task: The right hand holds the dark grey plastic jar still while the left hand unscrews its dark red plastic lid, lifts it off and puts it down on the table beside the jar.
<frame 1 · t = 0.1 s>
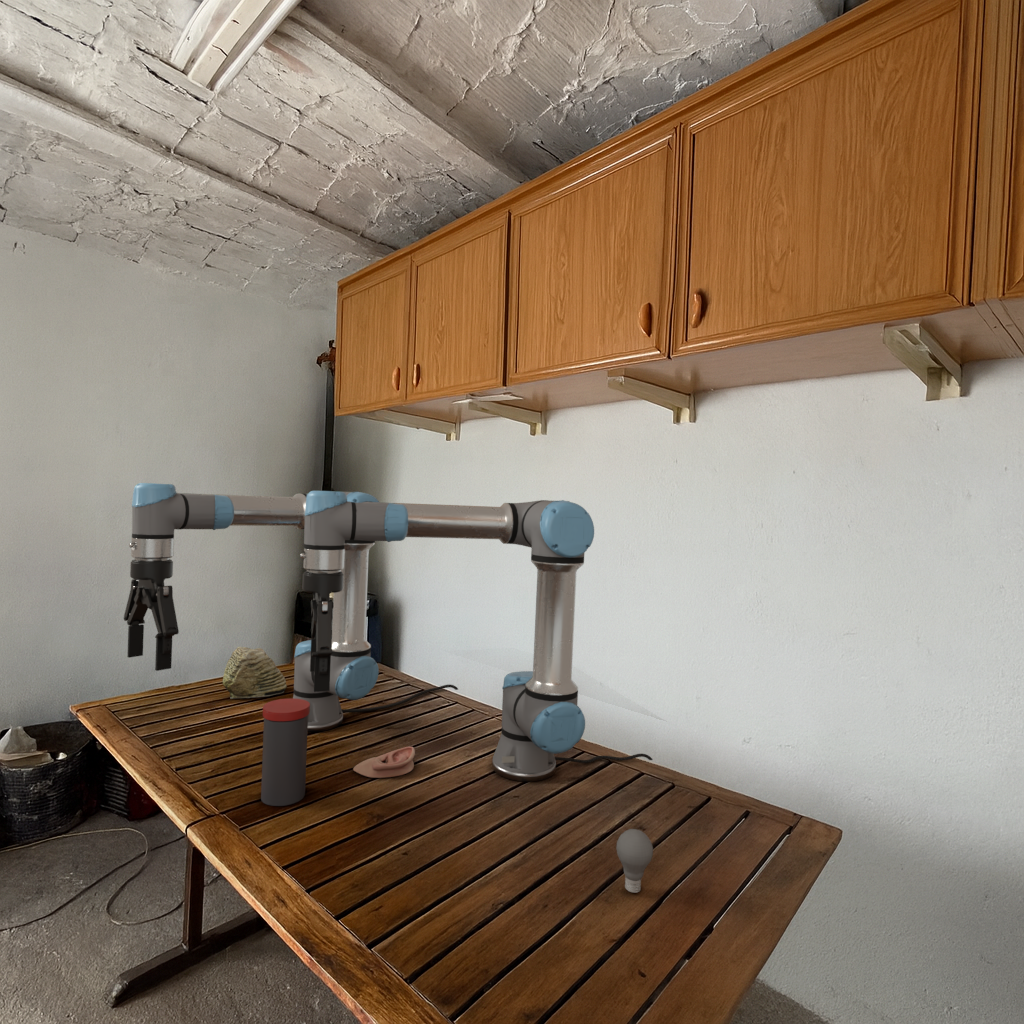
left hand: (148, 662, 129), 28 cm above the table, tool pointing down, fingers open, 13 cm apart
right hand: (319, 680, 122), 28 cm above the table, tool pointing down, fingers open, 13 cm apart
jar: (283, 796, 133), on the table
anatomical model: (384, 768, 149), on the table
lid: (286, 707, 133), point 19 cm above the table, screwed on, not yet turned
fossil: (254, 694, 198), on the table
light bulb: (632, 891, 106), on the table
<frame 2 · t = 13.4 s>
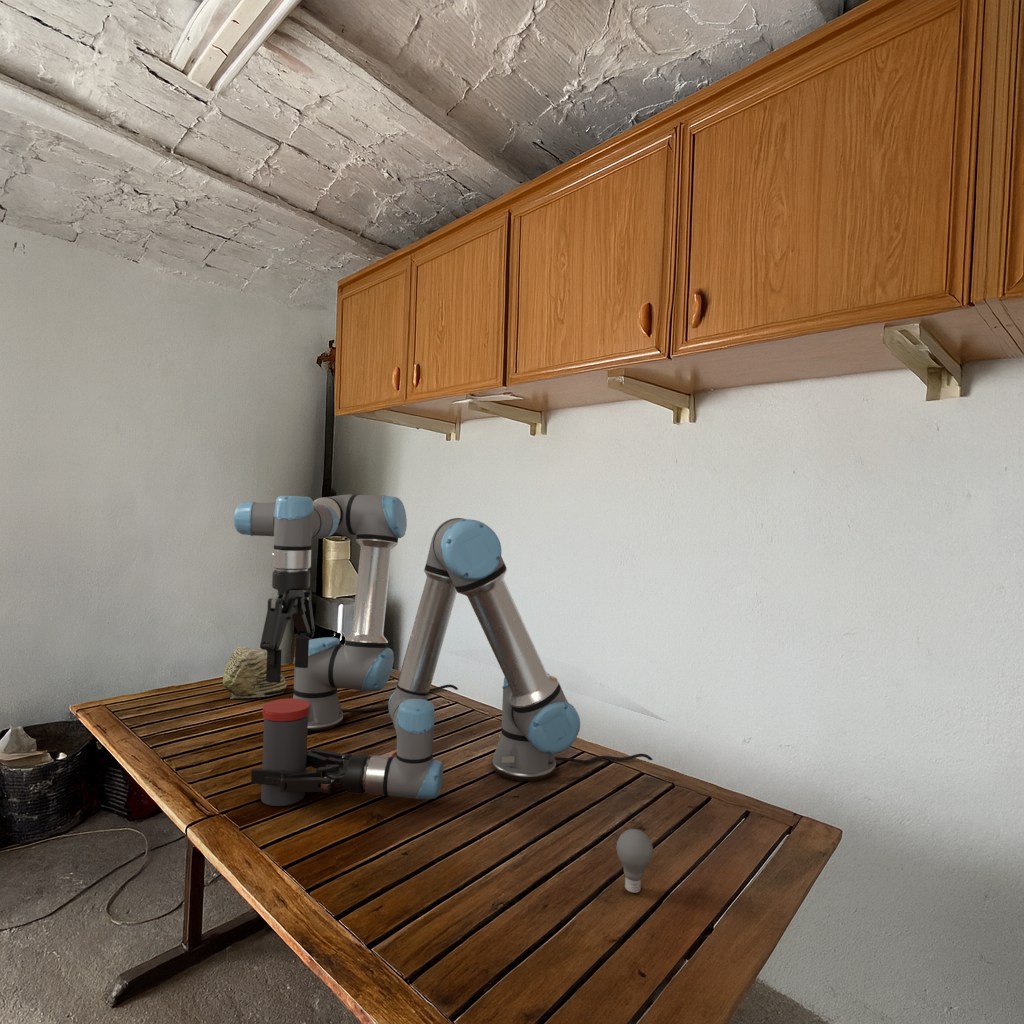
left hand: (287, 674, 133), 26 cm above the table, tool pointing down, fingers open, 11 cm apart
right hand: (263, 766, 134), 6 cm above the table, tool horizontal, fingers closed on jar, 9 cm apart
jar: (283, 796, 133), on the table, touching right hand
everything else where it was.
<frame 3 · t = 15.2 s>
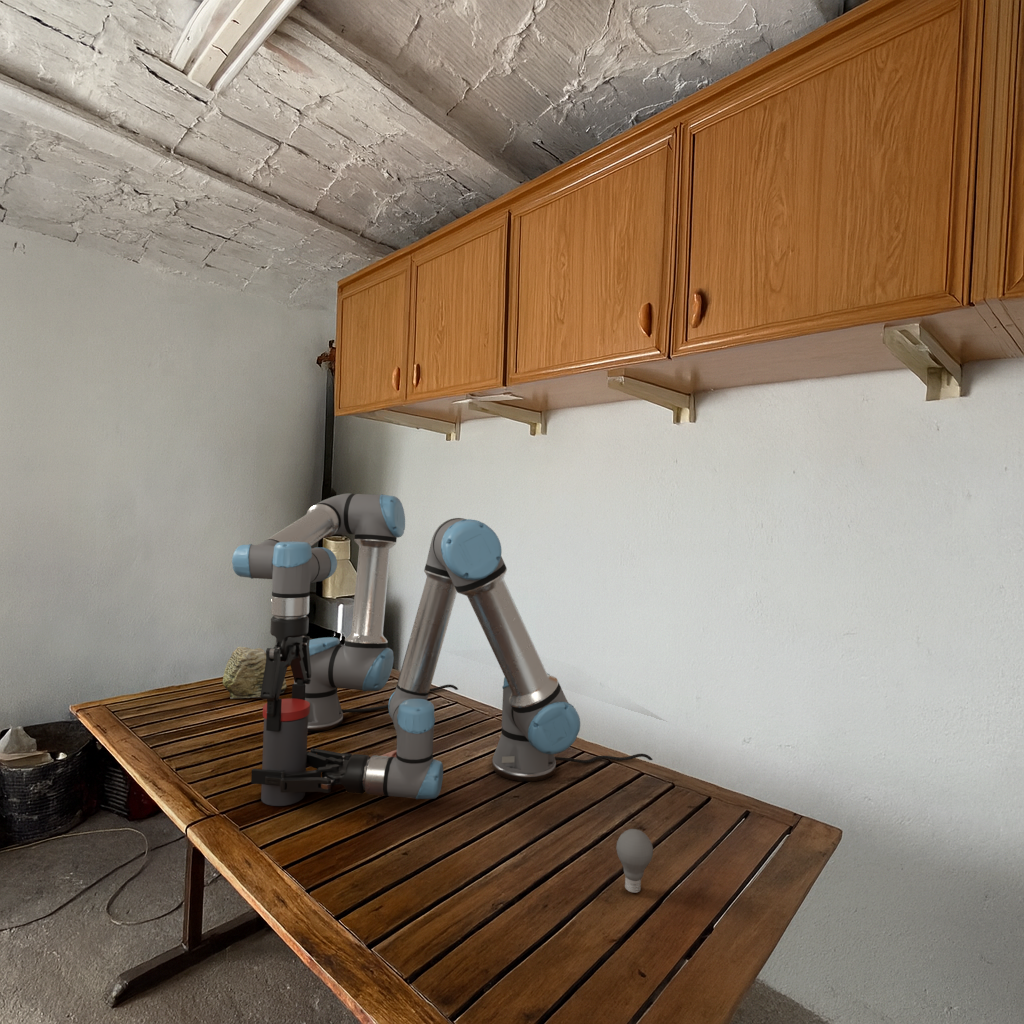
left hand: (286, 722, 133), 16 cm above the table, tool pointing down, fingers closed on lid, 9 cm apart
right hand: (263, 766, 134), 6 cm above the table, tool horizontal, fingers closed on jar, 9 cm apart
jar: (283, 796, 133), on the table, touching right hand
lid: (286, 707, 133), point 19 cm above the table, screwed on, not yet turned, touching left hand
everything else where it was.
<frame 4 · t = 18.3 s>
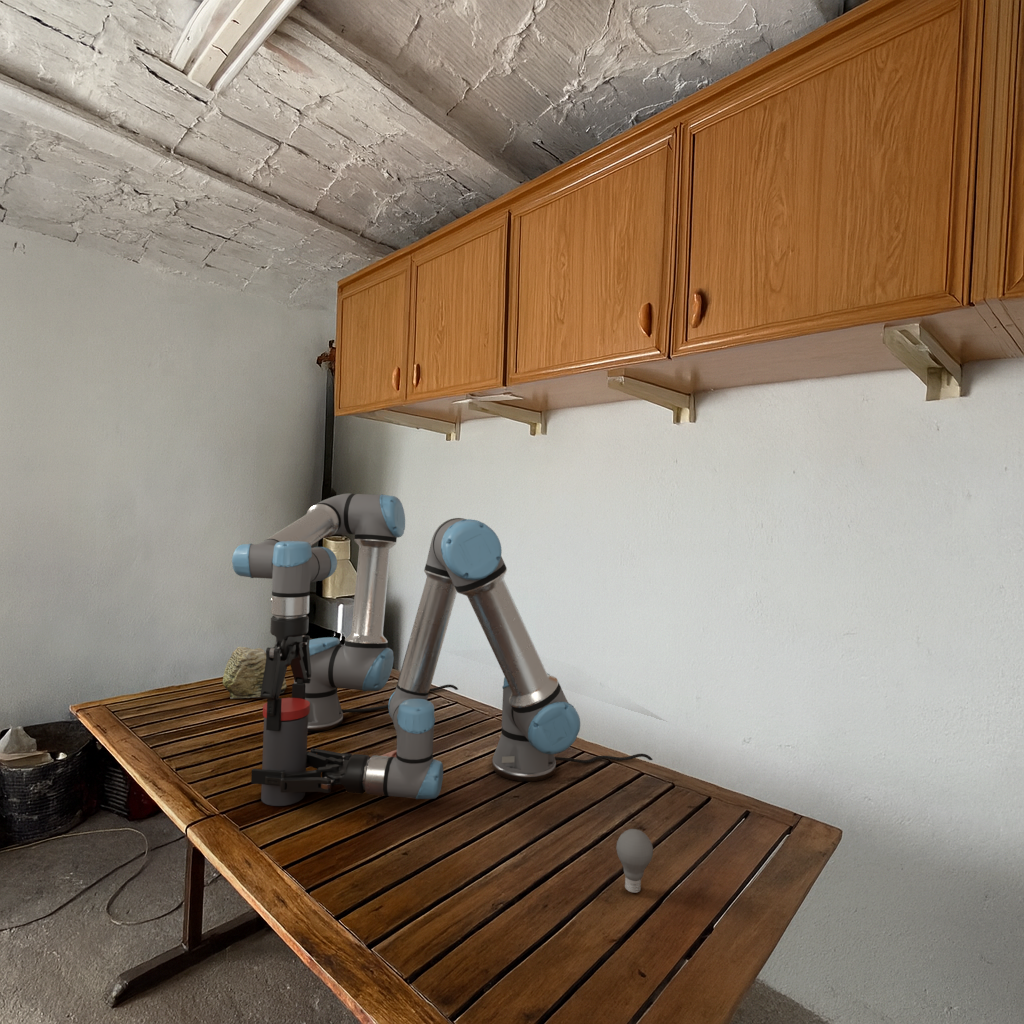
left hand: (286, 721, 133), 16 cm above the table, tool pointing down, fingers closed on lid, 9 cm apart
right hand: (263, 766, 134), 6 cm above the table, tool horizontal, fingers closed on jar, 9 cm apart
jar: (283, 796, 133), on the table, touching right hand
lid: (286, 706, 133), point 19 cm above the table, turned 82° so far, risen 0.1 cm, still on its thread, touching left hand
everything else where it was.
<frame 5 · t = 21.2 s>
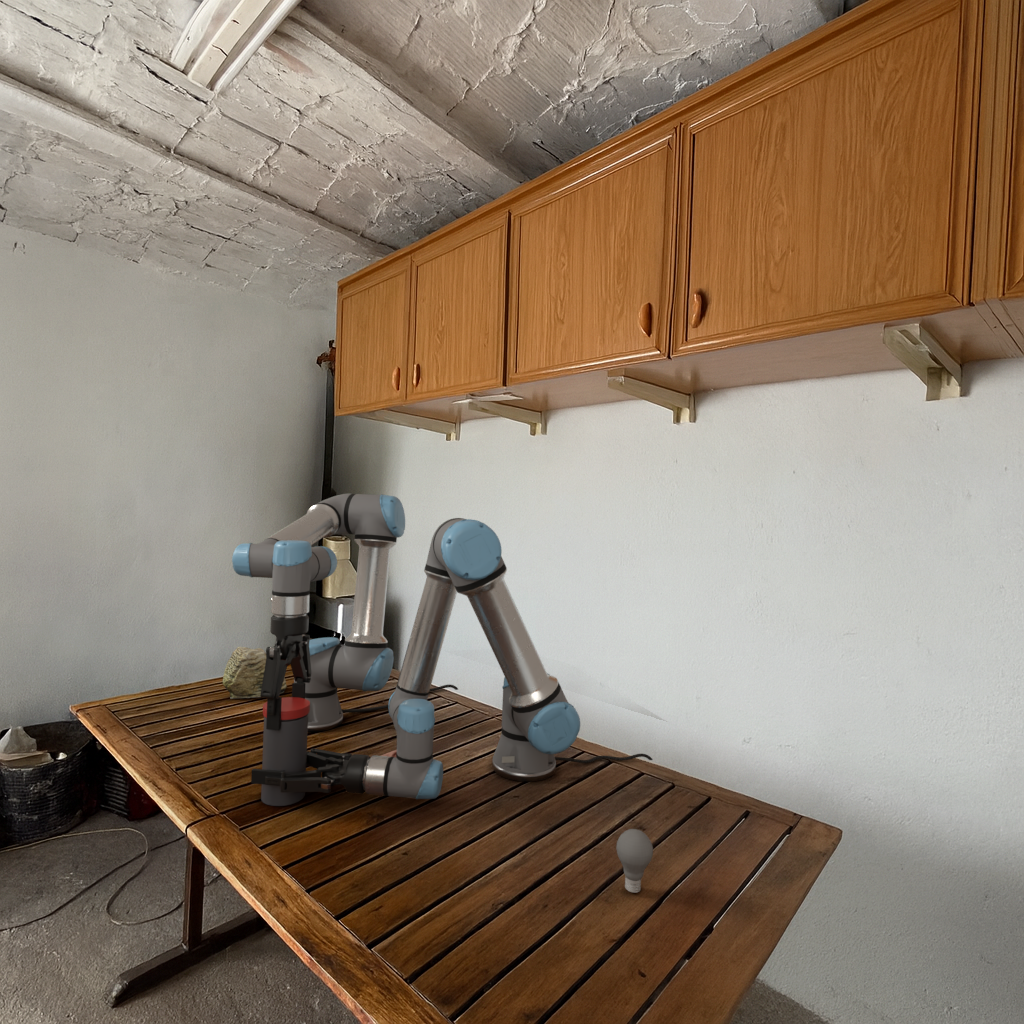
left hand: (286, 720, 133), 16 cm above the table, tool pointing down, fingers closed on lid, 9 cm apart
right hand: (263, 766, 134), 6 cm above the table, tool horizontal, fingers closed on jar, 9 cm apart
jar: (283, 796, 133), on the table, touching right hand
lid: (286, 705, 133), point 19 cm above the table, turned 165° so far, risen 0.3 cm, still on its thread, touching left hand
everything else where it was.
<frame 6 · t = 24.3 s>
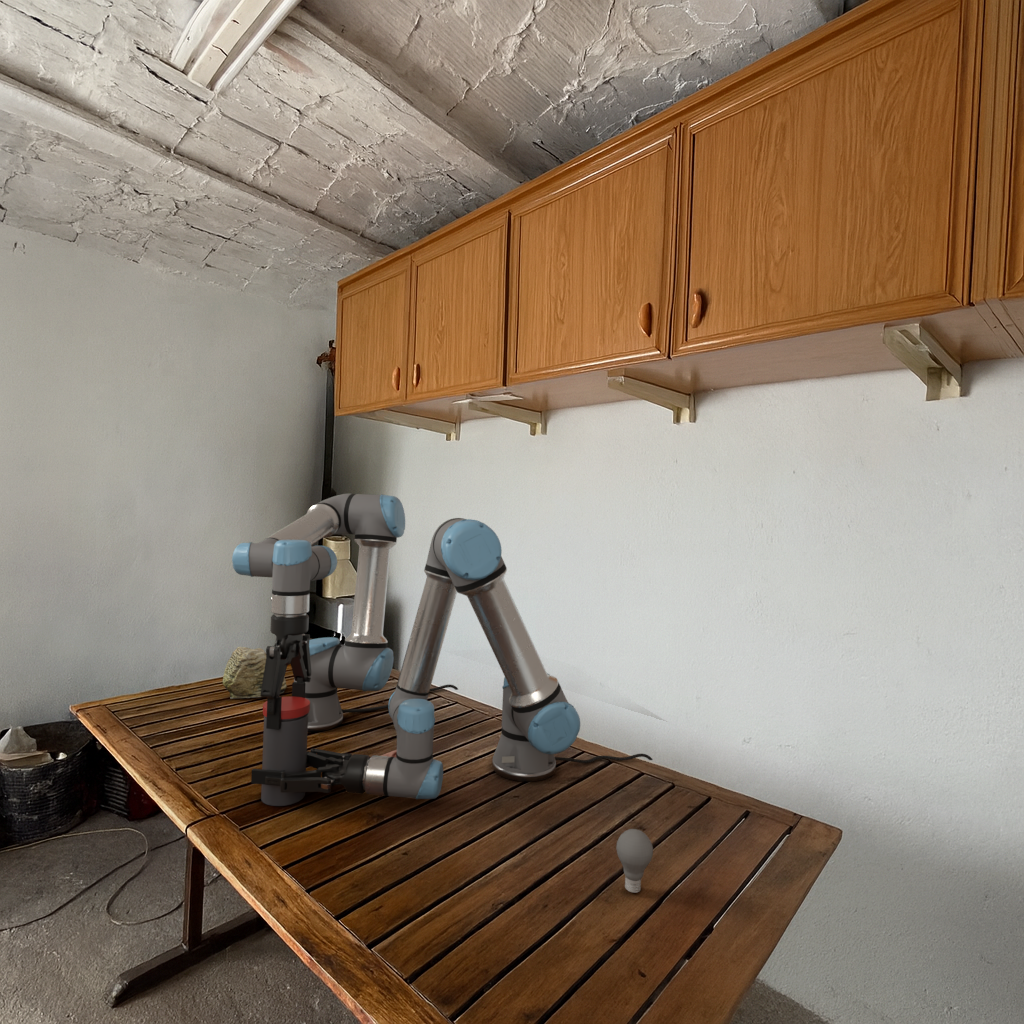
left hand: (286, 720, 133), 16 cm above the table, tool pointing down, fingers closed on lid, 9 cm apart
right hand: (263, 766, 134), 6 cm above the table, tool horizontal, fingers closed on jar, 9 cm apart
jar: (283, 796, 133), on the table, touching right hand
lid: (286, 705, 133), point 19 cm above the table, turned 247° so far, risen 0.4 cm, still on its thread, touching left hand
everything else where it was.
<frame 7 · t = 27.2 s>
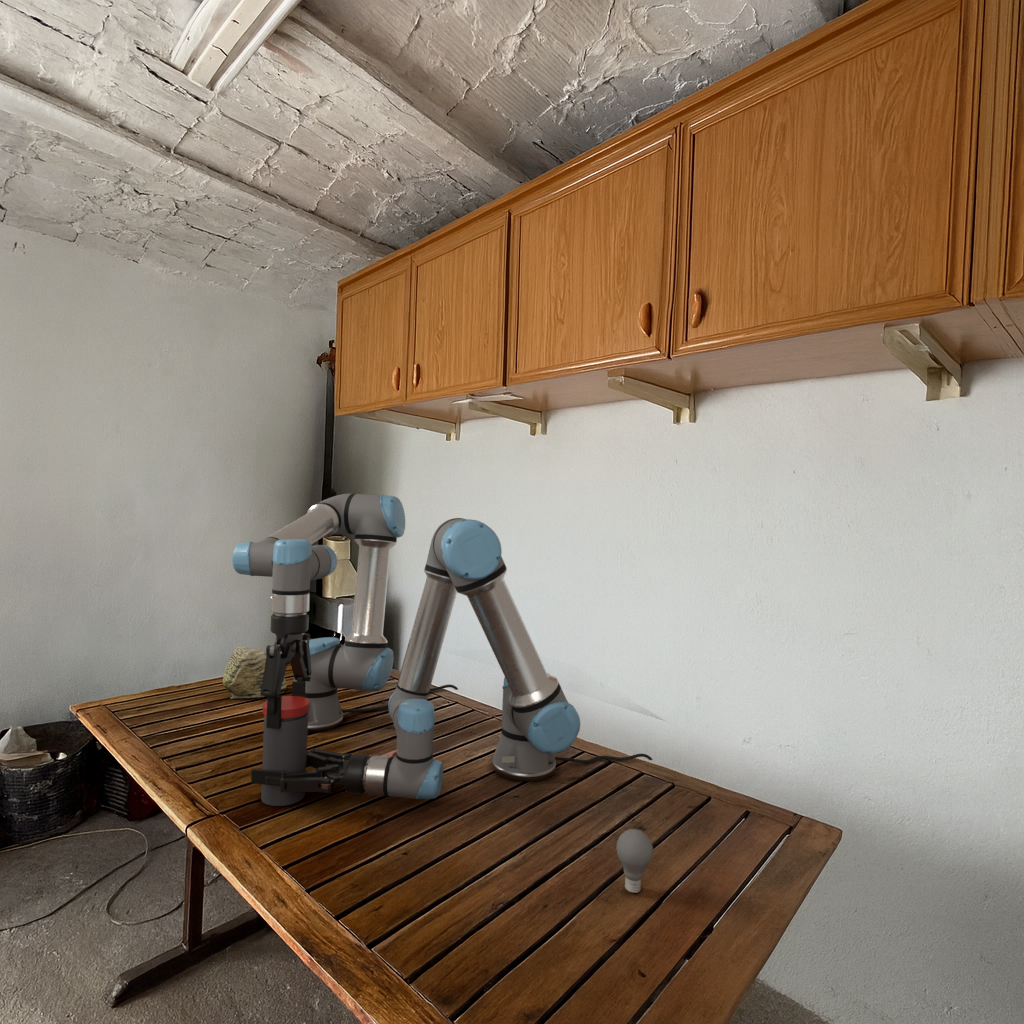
left hand: (286, 719, 133), 16 cm above the table, tool pointing down, fingers closed on lid, 9 cm apart
right hand: (263, 766, 134), 6 cm above the table, tool horizontal, fingers closed on jar, 9 cm apart
jar: (283, 796, 133), on the table, touching right hand
lid: (286, 704, 133), point 19 cm above the table, turned 330° so far, risen 0.6 cm, still on its thread, touching left hand
everything else where it was.
when the left hand's fingers open (0 cm above the table, at t = 33.9 s): lid drops 2 cm, point 1 cm above the table.
when the right hand's fingers open (6 cm above the table, at t = 34.9 s): jar stays where it is, on the table.
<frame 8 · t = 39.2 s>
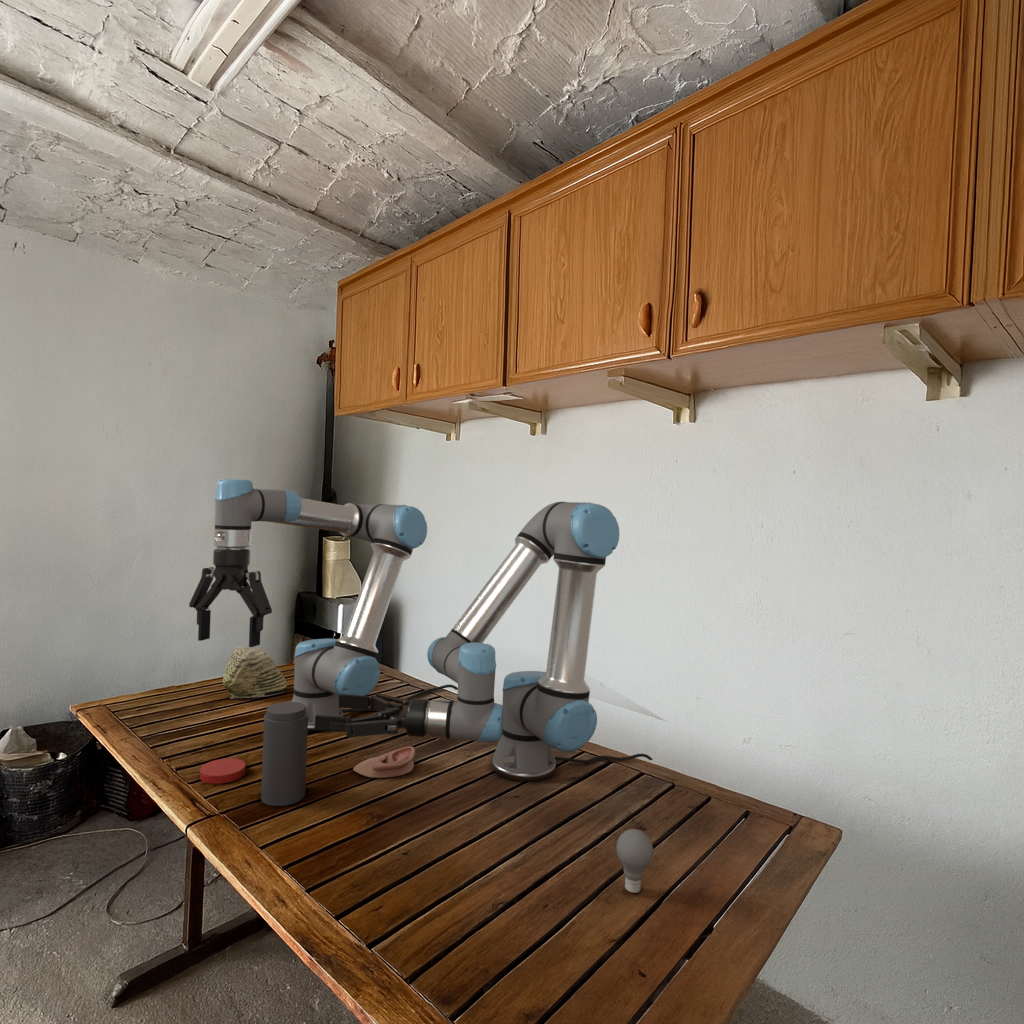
left hand: (228, 642, 142), 30 cm above the table, tool pointing down, fingers open, 13 cm apart
right hand: (328, 711, 132), 19 cm above the table, tool horizontal, fingers open, 13 cm apart
jar: (283, 796, 133), on the table
lid: (223, 768, 142), point 1 cm above the table, off its thread
everything else where it was.
at the end: lid came off its thread; lid point 1.4 cm above the table; the left hand is holding nothing; the right hand is holding nothing; jar tilted 0°; jar moved 0.0 cm from its start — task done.
